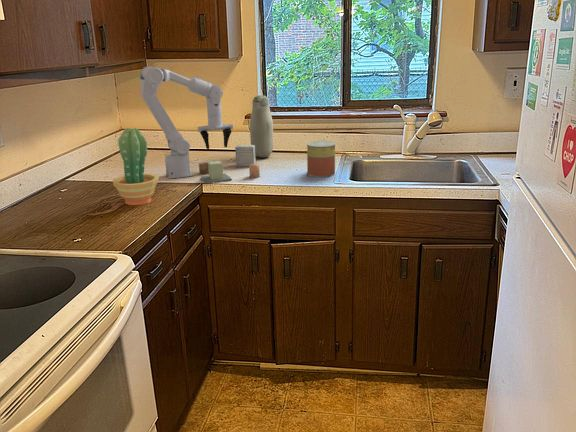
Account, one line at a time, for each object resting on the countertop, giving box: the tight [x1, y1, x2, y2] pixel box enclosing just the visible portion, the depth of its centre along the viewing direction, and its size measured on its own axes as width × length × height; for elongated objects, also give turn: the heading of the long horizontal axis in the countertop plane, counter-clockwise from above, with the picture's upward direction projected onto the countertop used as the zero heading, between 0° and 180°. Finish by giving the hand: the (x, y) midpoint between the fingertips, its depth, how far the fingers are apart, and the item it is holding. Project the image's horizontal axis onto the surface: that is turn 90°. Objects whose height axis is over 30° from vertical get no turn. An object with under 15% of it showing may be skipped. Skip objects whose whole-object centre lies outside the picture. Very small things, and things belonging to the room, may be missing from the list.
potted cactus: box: [112, 127, 159, 206], centre depth 179 cm, size 15×15×25 cm
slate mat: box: [200, 173, 232, 185], centre depth 209 cm, size 10×9×1 cm
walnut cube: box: [198, 161, 209, 176], centre depth 218 cm, size 4×4×4 cm
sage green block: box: [207, 160, 224, 179], centre depth 207 cm, size 4×4×6 cm
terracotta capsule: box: [248, 163, 261, 179], centre depth 211 cm, size 4×4×5 cm
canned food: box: [306, 140, 336, 178], centre depth 213 cm, size 11×11×12 cm
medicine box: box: [234, 144, 257, 168], centre depth 229 cm, size 8×4×9 cm, turn 84°
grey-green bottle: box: [249, 94, 274, 159], centre depth 240 cm, size 10×10×28 cm
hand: (216, 147), depth 221 cm, fingers open, 7 cm apart
